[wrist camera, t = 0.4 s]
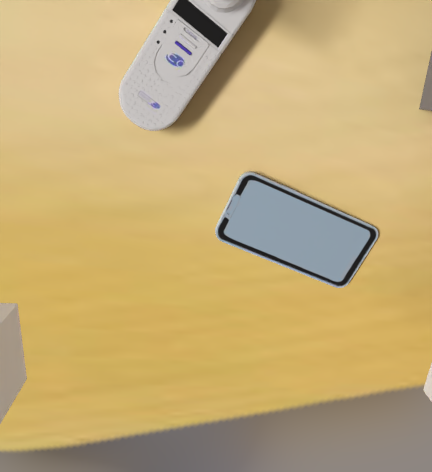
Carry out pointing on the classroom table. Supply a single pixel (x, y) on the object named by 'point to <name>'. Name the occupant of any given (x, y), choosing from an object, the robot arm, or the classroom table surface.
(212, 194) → the classroom table surface
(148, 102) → the electronic device
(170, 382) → the classroom table surface
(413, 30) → the classroom table surface
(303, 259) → the smartphone
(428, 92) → the power strip
